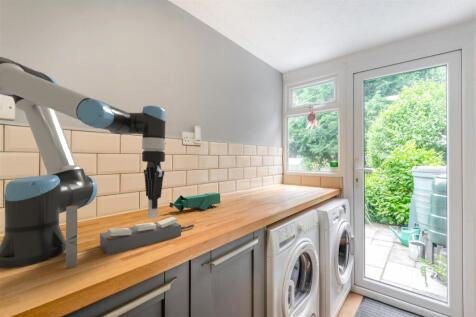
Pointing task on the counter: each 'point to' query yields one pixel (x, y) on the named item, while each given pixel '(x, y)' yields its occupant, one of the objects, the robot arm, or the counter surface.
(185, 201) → the toy
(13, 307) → the counter surface
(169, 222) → the rocker right
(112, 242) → the strip
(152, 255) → the counter surface
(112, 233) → the rocker left
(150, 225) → the rocker mid
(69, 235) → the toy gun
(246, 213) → the counter surface
